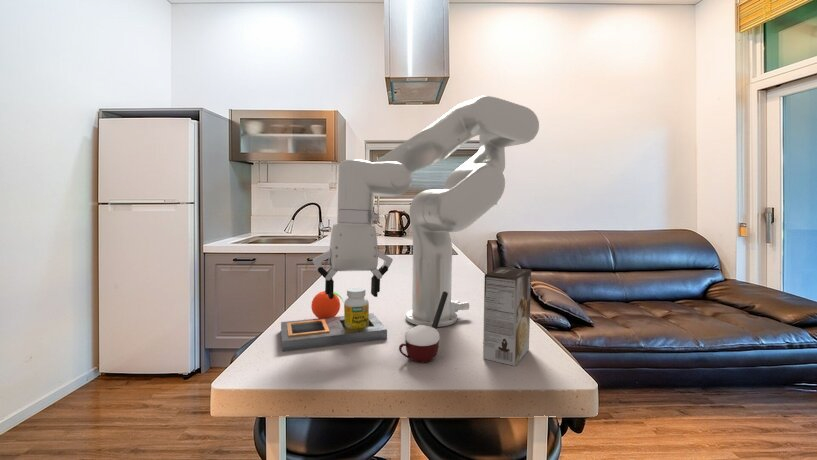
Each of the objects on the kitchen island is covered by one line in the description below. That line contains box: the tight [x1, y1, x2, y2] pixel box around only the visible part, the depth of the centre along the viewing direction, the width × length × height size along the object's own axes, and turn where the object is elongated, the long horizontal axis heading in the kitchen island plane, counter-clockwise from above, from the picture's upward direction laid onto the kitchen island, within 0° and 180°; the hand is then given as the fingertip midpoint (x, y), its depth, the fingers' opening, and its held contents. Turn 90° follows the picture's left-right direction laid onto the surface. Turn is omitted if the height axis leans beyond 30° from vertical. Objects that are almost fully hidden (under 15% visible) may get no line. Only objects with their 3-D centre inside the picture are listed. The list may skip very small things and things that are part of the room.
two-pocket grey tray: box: [280, 312, 388, 352], centre depth 82 cm, size 21×12×2 cm, turn 110°
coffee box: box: [482, 266, 533, 367], centre depth 72 cm, size 9×6×16 cm
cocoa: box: [398, 291, 448, 364], centre depth 70 cm, size 10×6×12 cm, turn 91°
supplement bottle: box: [343, 287, 370, 329], centre depth 84 cm, size 5×5×10 cm
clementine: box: [310, 290, 345, 319], centre depth 93 cm, size 8×7×7 cm
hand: (352, 296), depth 83 cm, fingers open, 9 cm apart
